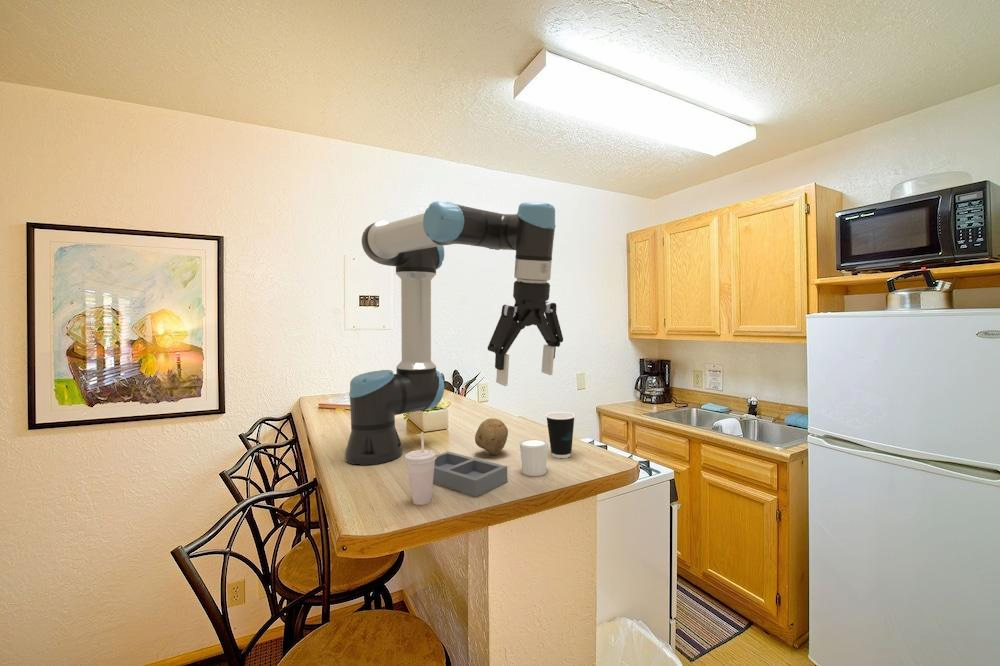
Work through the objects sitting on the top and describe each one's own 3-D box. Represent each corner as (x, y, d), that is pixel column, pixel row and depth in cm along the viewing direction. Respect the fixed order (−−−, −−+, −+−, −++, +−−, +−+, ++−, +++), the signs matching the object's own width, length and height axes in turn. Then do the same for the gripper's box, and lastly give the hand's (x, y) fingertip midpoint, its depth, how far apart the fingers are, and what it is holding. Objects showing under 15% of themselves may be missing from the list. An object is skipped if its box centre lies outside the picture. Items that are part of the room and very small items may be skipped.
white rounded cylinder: (547, 477, 95) (546, 447, 95) (518, 476, 96) (517, 446, 96) (549, 467, 102) (549, 439, 102) (522, 466, 103) (521, 438, 103)
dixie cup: (572, 461, 105) (571, 419, 105) (542, 458, 108) (541, 417, 108) (579, 452, 112) (578, 412, 112) (551, 449, 116) (550, 411, 115)
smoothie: (444, 500, 84) (442, 432, 84) (417, 511, 80) (415, 439, 79) (426, 492, 89) (423, 427, 88) (400, 501, 84) (397, 433, 84)
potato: (474, 460, 108) (473, 422, 108) (476, 450, 117) (475, 415, 117) (509, 459, 109) (507, 421, 108) (508, 449, 117) (507, 414, 117)
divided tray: (415, 477, 98) (415, 462, 98) (448, 464, 106) (447, 451, 106) (476, 497, 85) (475, 480, 85) (507, 481, 93) (507, 466, 93)
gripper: (497, 284, 74) (492, 394, 79) (584, 281, 90) (575, 373, 95) (473, 279, 80) (468, 383, 84) (558, 278, 96) (551, 365, 100)
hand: (525, 378), depth 90 cm, fingers open, 13 cm apart
